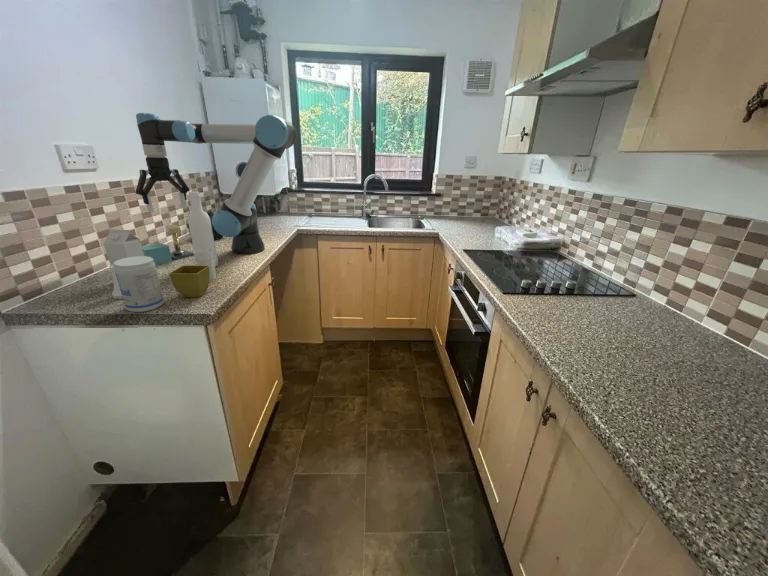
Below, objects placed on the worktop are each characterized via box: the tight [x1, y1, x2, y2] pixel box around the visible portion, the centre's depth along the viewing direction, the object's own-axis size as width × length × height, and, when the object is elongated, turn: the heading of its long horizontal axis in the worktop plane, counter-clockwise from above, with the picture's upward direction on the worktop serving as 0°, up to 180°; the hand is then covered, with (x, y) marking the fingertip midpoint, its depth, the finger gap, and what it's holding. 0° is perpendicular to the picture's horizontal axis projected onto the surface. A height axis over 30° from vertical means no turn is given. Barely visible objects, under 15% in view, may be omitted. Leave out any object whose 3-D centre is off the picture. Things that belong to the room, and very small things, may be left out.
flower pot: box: [168, 264, 211, 298], centre depth 104 cm, size 9×9×9 cm
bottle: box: [187, 191, 219, 268], centre depth 127 cm, size 8×8×30 cm
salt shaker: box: [108, 265, 123, 300], centre depth 102 cm, size 8×8×10 cm
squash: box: [206, 211, 224, 241], centre depth 174 cm, size 14×15×15 cm
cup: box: [192, 248, 217, 281], centre depth 117 cm, size 7×7×11 cm
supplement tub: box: [113, 256, 165, 313], centre depth 94 cm, size 10×10×15 cm
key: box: [165, 224, 184, 251], centre depth 139 cm, size 4×14×11 cm, turn 42°
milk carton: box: [103, 228, 144, 266], centre depth 111 cm, size 7×7×19 cm
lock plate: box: [170, 249, 194, 261], centre depth 143 cm, size 9×9×2 cm
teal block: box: [141, 242, 173, 266], centre depth 134 cm, size 8×9×7 cm
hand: (168, 210), depth 136 cm, fingers open, 13 cm apart
